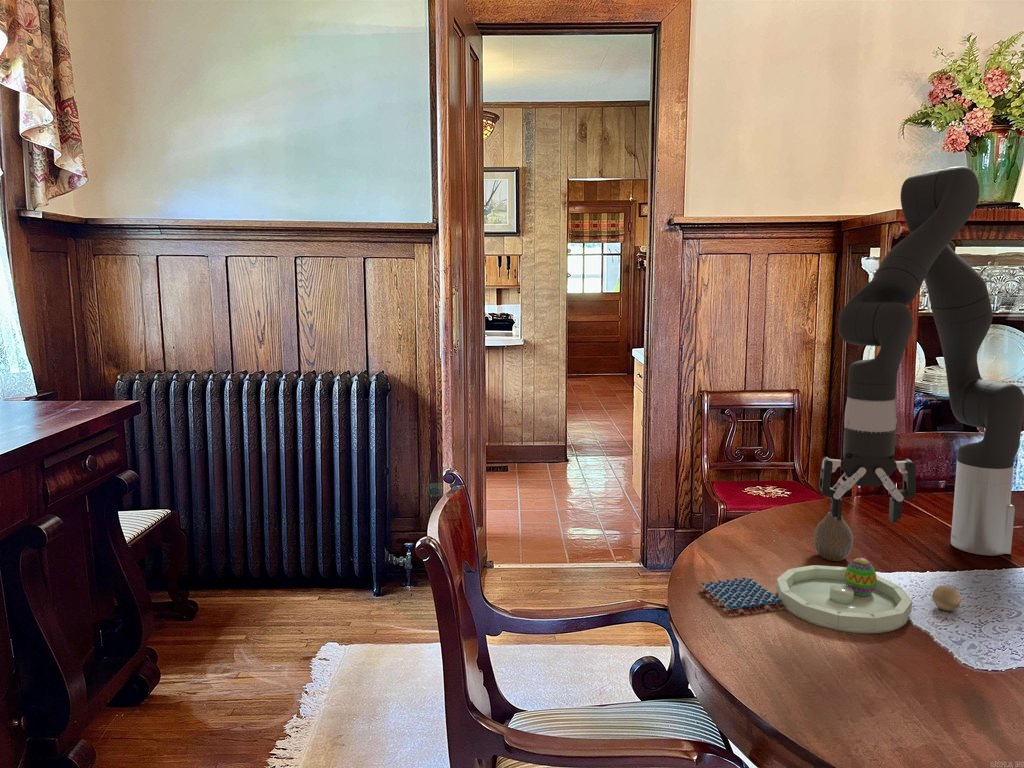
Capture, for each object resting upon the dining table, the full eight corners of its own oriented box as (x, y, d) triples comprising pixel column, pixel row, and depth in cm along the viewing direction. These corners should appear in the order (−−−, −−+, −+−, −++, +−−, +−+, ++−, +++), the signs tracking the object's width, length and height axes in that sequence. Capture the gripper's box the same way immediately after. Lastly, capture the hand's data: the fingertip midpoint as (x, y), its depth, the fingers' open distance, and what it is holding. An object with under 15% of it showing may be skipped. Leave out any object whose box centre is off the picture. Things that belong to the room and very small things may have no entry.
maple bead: (954, 605, 118) (956, 581, 117) (964, 616, 114) (966, 592, 114) (927, 603, 119) (929, 580, 118) (936, 614, 115) (938, 590, 114)
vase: (856, 565, 134) (858, 520, 133) (816, 563, 136) (819, 518, 135) (846, 551, 141) (849, 508, 140) (809, 549, 143) (811, 507, 141)
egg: (838, 591, 122) (840, 557, 121) (853, 583, 125) (854, 550, 124) (866, 601, 118) (868, 566, 117) (881, 593, 121) (883, 559, 120)
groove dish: (887, 584, 126) (888, 569, 126) (927, 638, 107) (928, 622, 107) (770, 576, 130) (771, 562, 130) (788, 627, 111) (788, 611, 111)
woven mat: (729, 620, 115) (729, 608, 115) (697, 593, 125) (697, 581, 125) (787, 612, 117) (787, 601, 117) (751, 586, 128) (751, 575, 127)
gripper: (909, 421, 119) (904, 514, 122) (818, 419, 122) (814, 511, 125) (925, 430, 112) (919, 530, 114) (828, 429, 115) (823, 526, 117)
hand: (864, 520), depth 119 cm, fingers open, 8 cm apart
